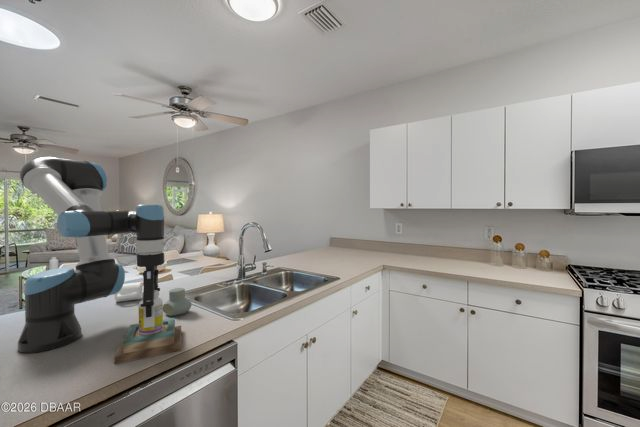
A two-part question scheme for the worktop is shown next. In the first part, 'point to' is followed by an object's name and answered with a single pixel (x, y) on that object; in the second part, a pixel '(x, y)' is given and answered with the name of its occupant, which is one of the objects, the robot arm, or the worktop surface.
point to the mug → (129, 292)
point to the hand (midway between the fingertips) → (151, 318)
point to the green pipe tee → (177, 302)
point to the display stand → (149, 342)
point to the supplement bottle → (157, 313)
